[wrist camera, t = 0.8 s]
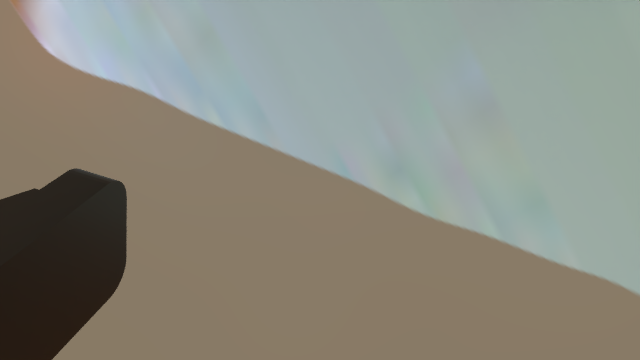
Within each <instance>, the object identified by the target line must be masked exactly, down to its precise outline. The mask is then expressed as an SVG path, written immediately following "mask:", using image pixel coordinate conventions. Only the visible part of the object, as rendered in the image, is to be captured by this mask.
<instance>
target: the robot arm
mask: <svg viewBox="0 0 640 360" xmlns="http://www.w3.org/2000/svg"><path fill="white" fill-rule="evenodd" d="M126 207H127V197H126V189H125V186H124V185H123V183H122V182H120V181H117V180H114V179H110V178H107V177H104V176H100V175H97V174H94V173H90V172H87V171H84V170H81V169H72V170H69V171H67V172H66V173H64V174H63V175H61V176H60V177H58V178H57V179H55V180H54V181H52V182H51V183H49V184H48V185H46V186H45V187H43V188H42V189H40V190H38V189H32V190H29V191H26V192H22V193H19V194H16V195H13V196H10V197H7V198H4V199H1V200H0V360H52V359H53V358H54V357H55V356H56V355H57V354H58V352H59V351H60V350H61V349H62V348H63V347H64V346H65V345H66V344H67V343H68V342H69V341H70V340H71V339H72V337H74V335H75V334H76V333H77V332H78V331H79V330H80V329H81V328H82V327H83V326H84V325H85V324H86V323H87V322H88V321H89V320H90V318H91V317H92V316H93V315H94V314H95V313H96V312H97V311H98V310H99V309H100V308H101V307H102V306H103V304H105V303H106V302H107V300H108V299H109V298H110V297H111V296H112V294H113V293H114V292H115V290H116V289H117V287H118V285H119V283H120V281H121V279H122V276H123V273H124V269H125V265H126V210H127V208H126Z"/></svg>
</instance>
